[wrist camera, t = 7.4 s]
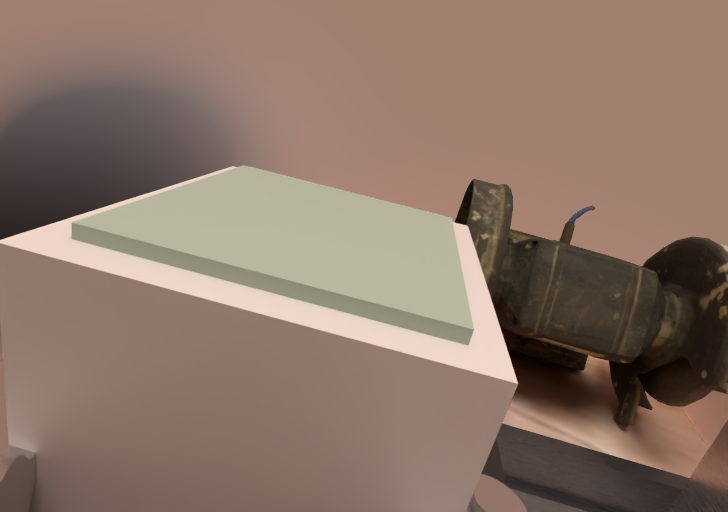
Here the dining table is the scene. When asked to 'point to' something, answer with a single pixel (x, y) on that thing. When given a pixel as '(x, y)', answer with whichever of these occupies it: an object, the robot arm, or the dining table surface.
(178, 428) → the block
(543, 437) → the rail
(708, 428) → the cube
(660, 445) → the dining table surface
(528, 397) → the dining table surface
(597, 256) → the bench grinder
